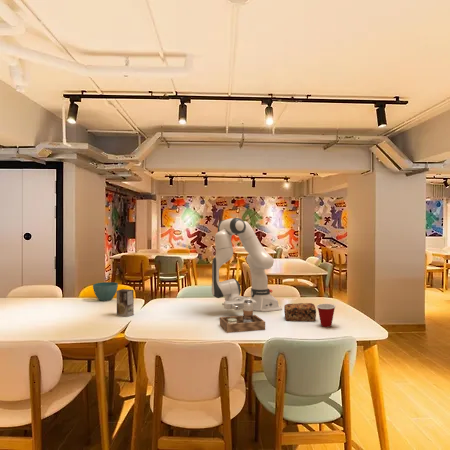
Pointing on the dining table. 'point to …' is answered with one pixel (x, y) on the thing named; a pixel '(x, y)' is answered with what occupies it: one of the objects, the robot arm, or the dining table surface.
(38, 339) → the dining table surface
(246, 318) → the canister
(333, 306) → the plastic cup
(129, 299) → the coffee box
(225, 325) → the crate
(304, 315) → the bread
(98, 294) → the teal bowl
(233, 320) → the jar
